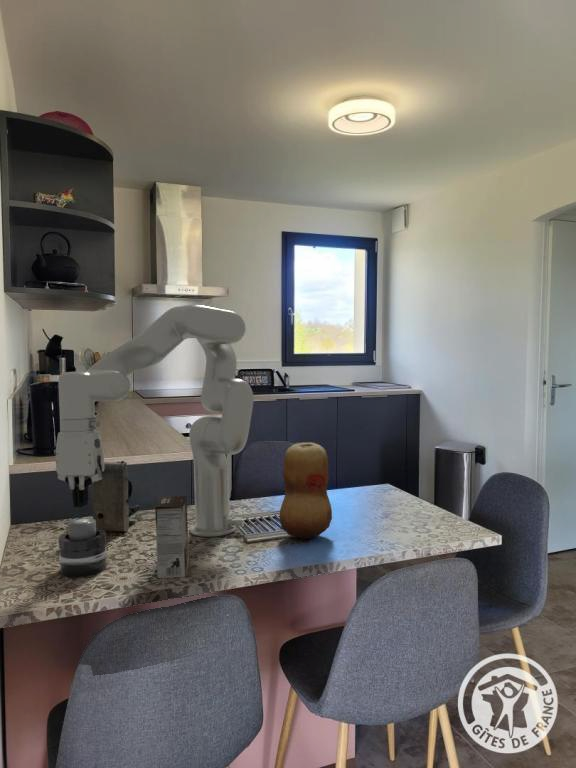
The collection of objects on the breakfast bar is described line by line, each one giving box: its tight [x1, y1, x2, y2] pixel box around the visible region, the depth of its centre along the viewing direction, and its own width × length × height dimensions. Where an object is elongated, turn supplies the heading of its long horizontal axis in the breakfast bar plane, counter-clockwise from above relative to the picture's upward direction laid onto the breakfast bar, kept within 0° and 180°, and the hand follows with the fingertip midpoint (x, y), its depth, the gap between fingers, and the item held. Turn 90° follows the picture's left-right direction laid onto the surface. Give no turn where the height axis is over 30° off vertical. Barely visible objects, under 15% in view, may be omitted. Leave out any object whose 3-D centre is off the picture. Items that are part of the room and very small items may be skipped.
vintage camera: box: [91, 460, 143, 533], centre depth 168 cm, size 10×16×20 cm, turn 174°
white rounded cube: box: [67, 517, 96, 540], centre depth 134 cm, size 6×6×5 cm
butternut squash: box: [279, 441, 333, 540], centre depth 153 cm, size 14×13×25 cm
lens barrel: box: [58, 529, 108, 578], centre depth 134 cm, size 10×10×8 cm
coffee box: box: [155, 495, 190, 579], centre depth 132 cm, size 9×6×16 cm
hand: (80, 505), depth 133 cm, fingers closed
